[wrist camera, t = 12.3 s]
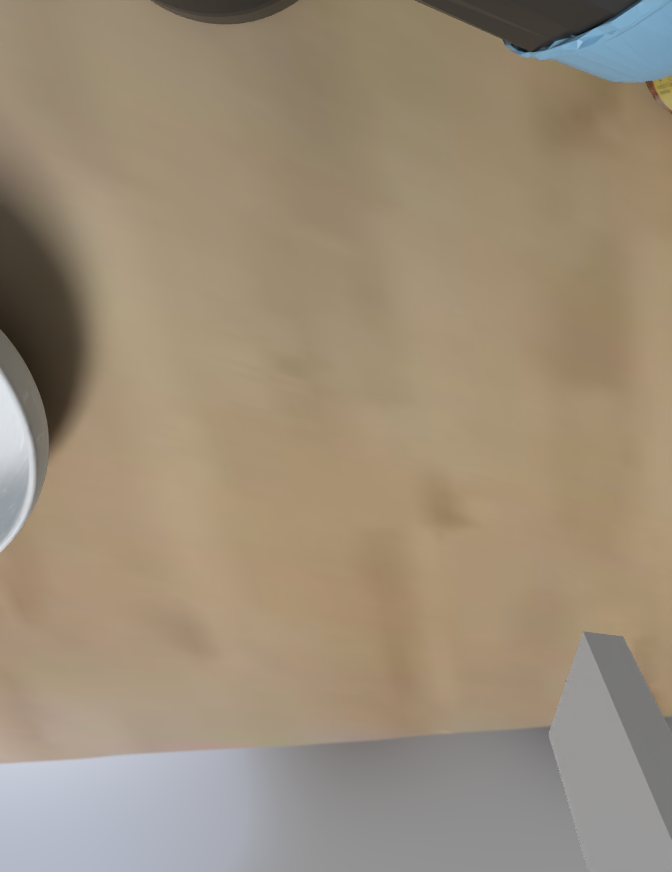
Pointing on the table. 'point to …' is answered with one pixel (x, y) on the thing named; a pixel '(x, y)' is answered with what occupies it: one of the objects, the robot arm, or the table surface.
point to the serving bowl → (19, 442)
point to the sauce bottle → (662, 91)
